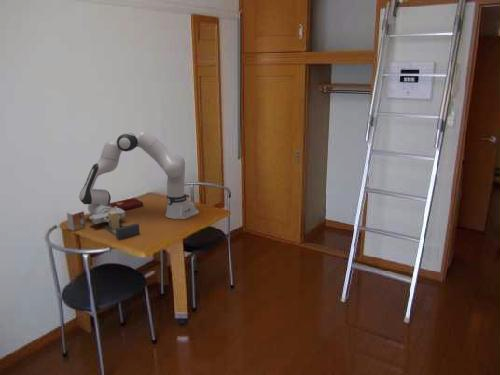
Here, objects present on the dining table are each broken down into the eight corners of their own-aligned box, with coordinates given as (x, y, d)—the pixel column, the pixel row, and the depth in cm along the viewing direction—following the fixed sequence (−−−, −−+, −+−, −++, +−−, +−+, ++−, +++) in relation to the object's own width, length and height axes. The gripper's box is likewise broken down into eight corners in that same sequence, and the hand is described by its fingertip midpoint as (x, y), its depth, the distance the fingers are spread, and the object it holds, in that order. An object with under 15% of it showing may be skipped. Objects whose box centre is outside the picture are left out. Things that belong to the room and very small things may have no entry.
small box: (73, 231, 249) (72, 214, 246) (68, 229, 252) (66, 212, 249) (85, 227, 255) (84, 211, 252) (80, 225, 259) (78, 209, 256)
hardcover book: (143, 207, 294) (143, 201, 293) (115, 213, 280) (114, 207, 279) (134, 202, 302) (134, 197, 301) (107, 209, 288) (106, 203, 287)
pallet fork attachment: (120, 223, 263) (119, 214, 262) (139, 234, 247) (139, 224, 246) (100, 228, 255) (99, 218, 253) (119, 240, 239) (118, 230, 237)
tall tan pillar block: (116, 226, 259) (114, 210, 256) (119, 228, 256) (118, 212, 253) (109, 227, 256) (107, 212, 253) (112, 229, 253) (111, 214, 250)
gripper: (87, 212, 255) (97, 218, 246) (118, 205, 269) (129, 211, 259) (88, 222, 257) (98, 229, 247) (119, 214, 271) (129, 220, 261)
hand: (114, 219), depth 253 cm, fingers open, 5 cm apart
